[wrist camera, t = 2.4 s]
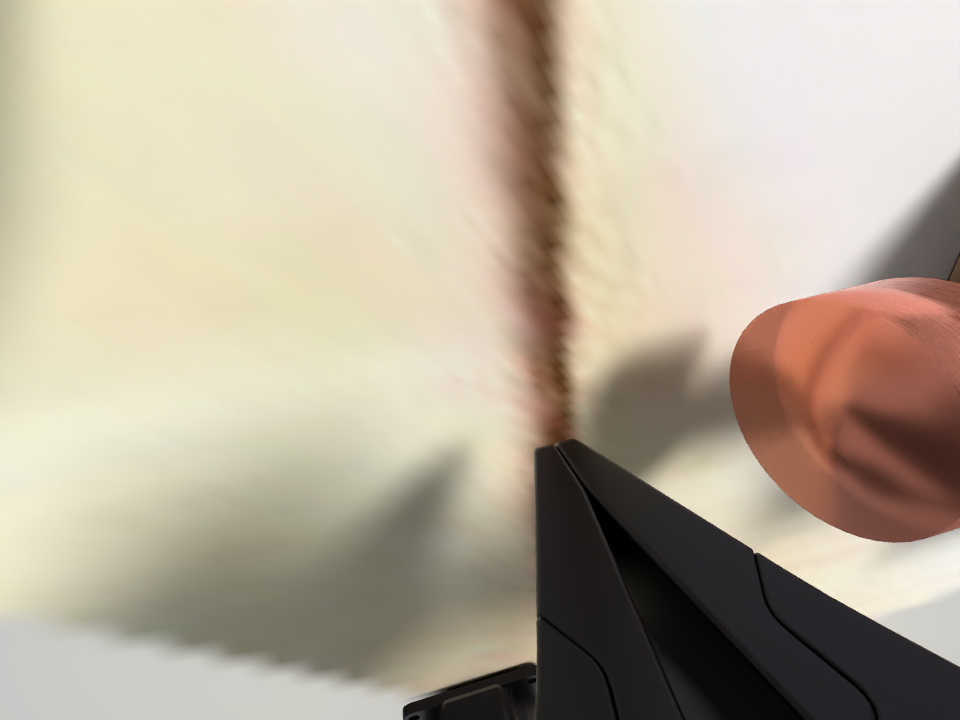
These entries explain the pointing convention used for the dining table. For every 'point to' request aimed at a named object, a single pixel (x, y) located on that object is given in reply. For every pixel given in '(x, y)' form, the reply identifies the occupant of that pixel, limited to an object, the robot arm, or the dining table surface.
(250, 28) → the dining table surface
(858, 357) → the pin
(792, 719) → the robot arm
